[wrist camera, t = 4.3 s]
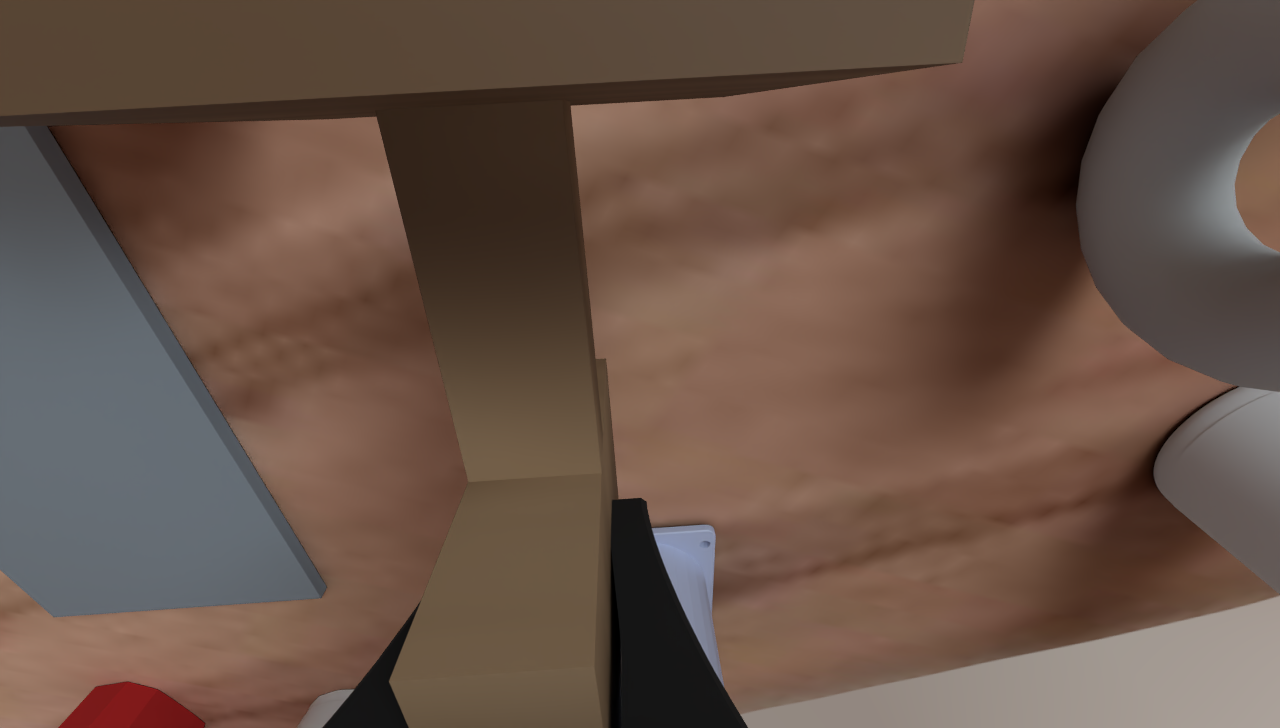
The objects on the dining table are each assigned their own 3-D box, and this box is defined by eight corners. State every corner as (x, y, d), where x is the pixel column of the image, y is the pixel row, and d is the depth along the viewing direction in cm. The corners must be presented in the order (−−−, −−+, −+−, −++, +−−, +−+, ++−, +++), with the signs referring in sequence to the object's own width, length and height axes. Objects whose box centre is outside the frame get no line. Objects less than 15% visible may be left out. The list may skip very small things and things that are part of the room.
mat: (326, 587, 26) (321, 598, 25) (64, 605, 26) (53, 617, 25) (-88, -96, 12) (-119, -102, 11) (-667, -68, 12) (-725, -72, 11)
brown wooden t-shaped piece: (715, 550, 14) (796, 906, 8) (457, 568, 14) (327, 945, 8) (724, 43, 9) (998, -128, 2) (312, 67, 9) (-482, -52, 2)
